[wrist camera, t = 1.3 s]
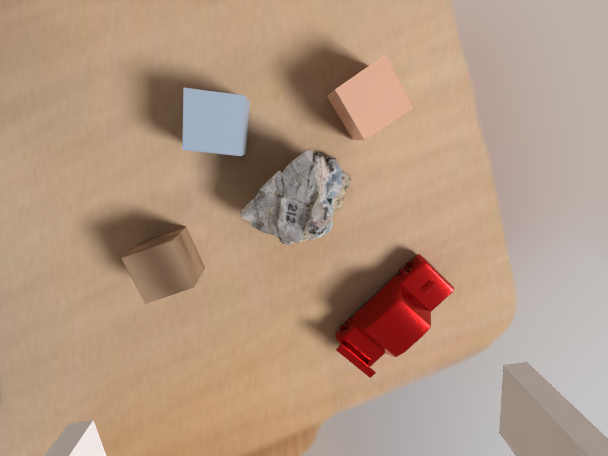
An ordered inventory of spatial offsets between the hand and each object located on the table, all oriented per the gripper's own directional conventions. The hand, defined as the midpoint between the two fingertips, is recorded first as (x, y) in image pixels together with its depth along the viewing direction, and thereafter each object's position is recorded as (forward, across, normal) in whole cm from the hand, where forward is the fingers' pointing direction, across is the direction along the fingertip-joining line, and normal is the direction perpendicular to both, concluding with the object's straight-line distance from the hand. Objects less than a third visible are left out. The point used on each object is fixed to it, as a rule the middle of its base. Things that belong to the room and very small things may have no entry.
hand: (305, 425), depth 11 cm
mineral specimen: (+26, +1, +3) cm, 27 cm away
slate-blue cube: (+26, -6, +11) cm, 29 cm away
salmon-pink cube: (+26, +8, +11) cm, 30 cm away
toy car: (+27, +10, -12) cm, 31 cm away
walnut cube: (+26, -13, -2) cm, 29 cm away
